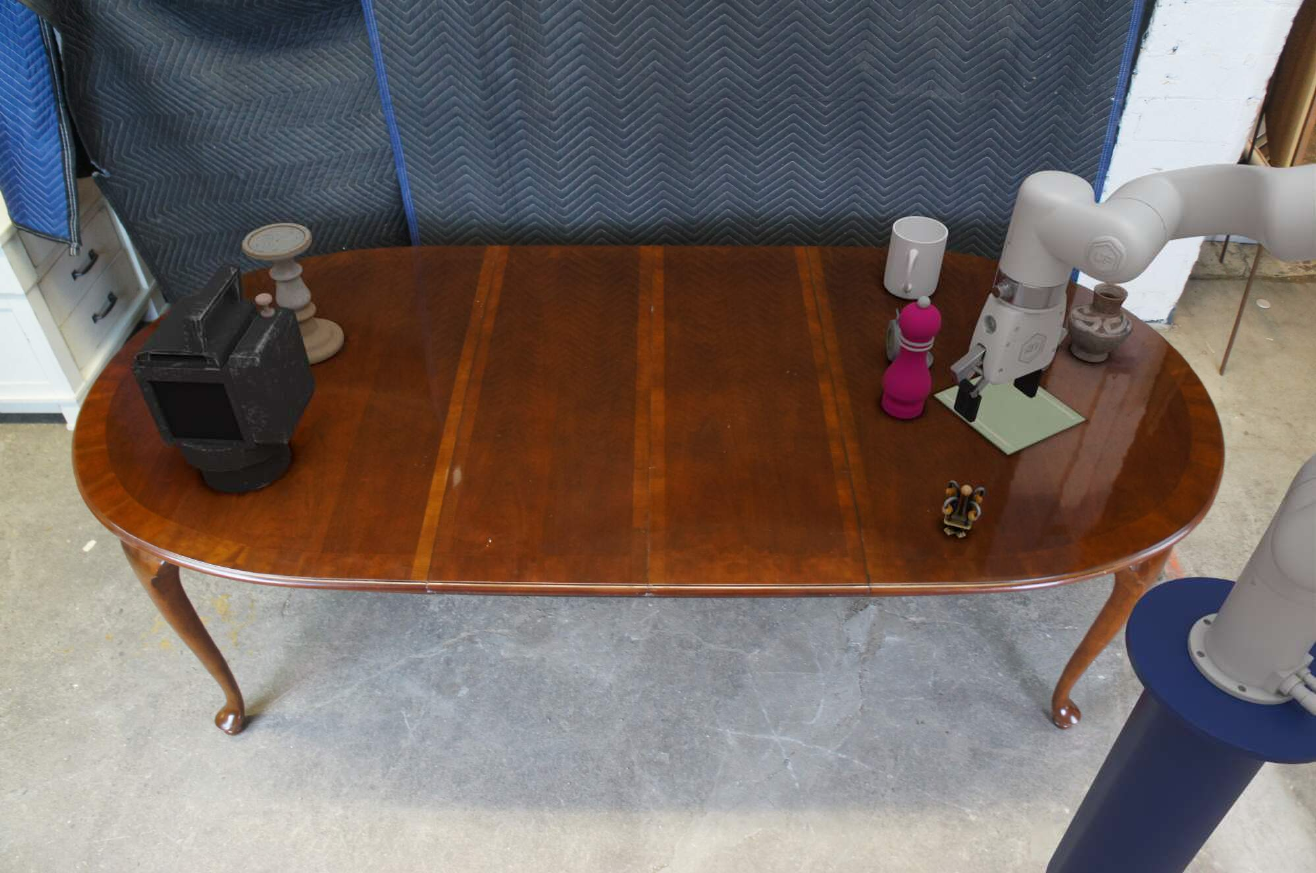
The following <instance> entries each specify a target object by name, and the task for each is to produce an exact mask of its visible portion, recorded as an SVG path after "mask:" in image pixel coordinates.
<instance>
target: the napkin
mask: <svg viewBox="0 0 1316 873" xmlns="http://www.w3.org/2000/svg"><path fill="white" fill-rule="evenodd" d="M981 377H982V376H981V375H980V376H977V377H975V378H971V379H970V380H969V381H970V382H971V383H972V384H973V385H975V384H976V383H977V382H978V380H979V379H980V378H981ZM1014 380H1015V379H1013V380H1011V381H1008V382H1005V383H1002V384H997V385H993V384H991V383H988V384H987V385H986V386H985V387H984V389H983V390H982V391H981V392H980V393H979V394H980V395H981V396H982V399H981V403H980V406H979V410H978V413H977V417H976V420H975V421H974V422H972V423H970V422H968V421H967V420H966V419H965V418H963V417H962V416H961V415H960V414H959V413H957V412H956V411H955V410H954V404H955V400H956V396H957V393H958V389H959V387H958V386H957V385H954V386H953V387H950V388H948V389H945V390H942V391H940V392H938V393H936V394H934V395H933V397H934V398H935V399H937V400H938V401H939V402H940V403H941V404H943V405H944V406H945V407H946V408H948V409H949V410H950V411H952V413H954V414H955V415H957V416H958V417H959V418H960V419H962V420H963V422H965V423H967V424H968V425H969V426H970V427H972V428H973V429H974V430H976V432H978V433H979V434H980V435H981V436H983V437H984V438H985V439H986V440H988V441H989V442H990V443H992V444H993V445H994V446H995V447H997V448H998V449H999V450H1000V451H1002V453H1004V454H1005V455H1007V456H1009V455H1012V454H1015V453H1017V452H1019V451H1021V450H1024V449H1026V448H1027V447H1030V446H1032V445H1034V444H1036V443H1039V442H1041V441H1043V440H1046V439H1047V438H1048V439H1049V438H1050V437H1052V436H1055V435H1057V434H1059V433H1061V432H1064V431H1066V430H1068V429H1070V428H1072V427H1075V426H1077V425H1078V424H1081V423H1083V422H1085V421H1086V418H1085V417H1083V416H1082V415H1081V414H1079V413H1078V412H1076V411H1075V410H1073V409H1072V408H1070V406H1068V405H1066V404H1065V403H1063V401H1060V400H1059V399H1058V398H1057V397H1055V396H1054V395H1052V394H1051V393H1050V392H1048V391H1047V390H1045V389H1044V388H1042V386H1040V385H1039V387H1038V390H1037V393H1036V396H1035V397H1033V398H1029V397H1027V396H1026V395H1025V394H1023V393H1022V392H1021V391H1019V390H1018V389H1017V388H1015V387H1014V385H1013V383H1014Z"/></svg>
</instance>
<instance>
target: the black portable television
mask: <svg viewBox="0 0 1316 873" xmlns="http://www.w3.org/2000/svg"><path fill="white" fill-rule="evenodd" d="M241 272H242V271H241V264H235V263H230V262H223V263H222V264H221V265H220V266H219V267H218V269H217V270H216V271H215V272H214V274H213V275H212V277H211V278H210V279H209V280H208V282H207V283H206V284H205V285H204V286H203V288H202V289H201V291H200V292H199V294H193V295H188V296H187V295H186V296H183V297H180V298H178V300H177V301H176V303H175V304H174V305H173V306H172V308H170V310H169V311H168V313H167V314H166V315H165V316H164V318H163V319H162V321H161V322H160V323H159V324H158V326H156V327H155V330H154V331H153V332H152V333H151V334H150V336H149V337H148V338H147V339H146V341H145V342H144V343H143V344H142V346H141V347H140V349H139V350H138V351H137V352H136V354H135V355H134V360H135V361H134V362H133V363H132V364H131V366H130V370H131V371H132V374H133V376H134V378H135V381H136V383H137V386H138V388H139V390H140V392H141V395H142V397H143V399H144V402H145V404H146V405H147V408H148V410H149V413H150V415H151V418H152V420H153V422H154V424H155V426H156V429H157V431H158V433H159V436H160V439H161V441H162V443H163V445H164V446H175V447H176V446H178V449H179V451H180V453H181V455H182V457H183V459H184V460H185V461H186V462H187V463H188V464H189V465H191V466H193V467H195V468H197V469H199V470H200V472H201V474H202V477H203V479H204V481H205V483H206V484H207V485H208V486H209V487H211V488H212V489H213V490H216V491H220V492H222V493H229V494H240V493H246V492H251V491H254V490H259V489H260V488H264V487H266V486H269V484H271V483H274V482H275V481H276V480H277V479H279V478H280V477H281V476H282V475H283V474H284V473H285V472H286V471H287V469H288V467H289V466H290V463H291V460H292V453H291V449H290V446H289V441H290V439H291V437H292V436H293V434H294V432H295V430H296V429H297V426H298V424H299V423H300V421H301V418H302V416H303V415H304V413H305V411H306V409H307V407H308V405H309V403H310V402H311V400H312V398H313V396H314V394H315V390H316V384H317V383H316V380H315V377H314V374H313V370H312V365H310V363H309V359H308V356H307V352H306V349H305V345H304V342H303V338H302V335H301V331H300V328H299V324H298V321H297V317H296V314H295V310H294V309H292V308H290V307H280V306H270V303H272V302H273V296H272V295H271V294H270V293H267V292H263V293H260V294H258V295H257V296H256V297H255V298H254V301H255V303H254V301H253V300H249V299H247V298H244V294H243V281H242V273H241ZM257 305H259V306H262V307H261V308H260V310H259V311H258V307H257Z"/></svg>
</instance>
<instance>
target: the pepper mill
mask: <svg viewBox="0 0 1316 873" xmlns="http://www.w3.org/2000/svg"><path fill="white" fill-rule="evenodd" d="M899 315H900V316H899V322H898V324H899V327H900V330H901V331H900V333H899V338H898V341H899V343H900V345H901V347H900V352H899V354H898V356H897V358H896V359H895V360H894V362H892V363H891V364H890V365H889V366H888V368H887V369H886V371H885V372H884V375H883V378H882V382H881V383H882V389H883V391H884V392H883V394H882V399H881V407H882V408H883V410H884V411H885V413H887V414H888V415H889V416H892V417H894V418H897V419H905V420H907V419H908V420H909V419H913V418H916V417H918V416H920V415H921V414H922V412H923V410H924V405H925V399H926V398H927V397H928V396H929V395H930V392H931V389H932V377H931V372H930V369H929V368H928V366H927V361H926V357H927V351H928V352H929V350H930V349H931V348H932V347H933V345H934V341H935V336H936V335H937V334H938V333H939V331H940V329H941V326H942V315H941V312H939V310H938V309H937V307H936V306H934V305H933V304H931V299H930V297H929V296H928V297H927V296H921V297H920V298H919V299H917V300H916V301H913V302H910V303H909V304H907V305H906V306H904V308H902V310H901V312H900V313H899Z"/></svg>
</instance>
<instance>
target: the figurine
mask: <svg viewBox="0 0 1316 873" xmlns="http://www.w3.org/2000/svg"><path fill="white" fill-rule="evenodd" d="M953 486H954V487H953ZM985 494H986V490H985V488H984V487H982V486H980V487H977V488H975V489H974V490H973V489H972V487H971V486H970V485H968V484H964V485H963V486H962V487H960V485H959V483H957V481H955V480H950V481H949V482H948V485H947V489H946V490H945V495H946V496H947V497H949V498H947V499H946V500H945V501H944V502H943V506H942V507H941V512H942V513H943V514H944V515H945V516H944V520H943V523H944V524H945V525H946V526H948V527H946V528H944V529H943V531H944V532H945V533H946V535H948V536H949V535H953V534H955V535H956V536H957V537H958V538H959V539H961V538H964V537H967V536H966V533H965V530H971V528H972V523H973V522H972V521H977V520H978V519H979V518H980V516H981V514H982V511H981V507H980V505H979V504H981V503H982V501H983V496H984V495H985ZM960 500H961V501H960ZM965 504H966V506H965ZM974 508H975V509H974Z"/></svg>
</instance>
